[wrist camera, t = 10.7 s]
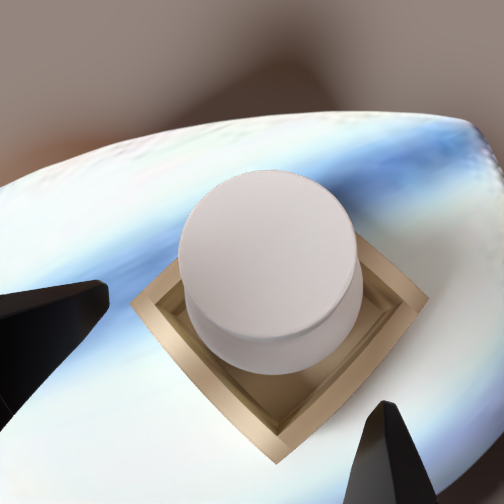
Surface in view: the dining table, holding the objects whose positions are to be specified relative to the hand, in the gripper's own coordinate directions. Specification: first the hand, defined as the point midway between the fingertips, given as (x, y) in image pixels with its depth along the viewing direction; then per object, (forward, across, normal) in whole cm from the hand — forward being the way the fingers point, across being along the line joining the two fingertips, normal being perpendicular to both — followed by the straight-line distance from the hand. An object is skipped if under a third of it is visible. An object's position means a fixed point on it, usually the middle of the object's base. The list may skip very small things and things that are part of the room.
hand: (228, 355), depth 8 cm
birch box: (+11, 0, +6) cm, 12 cm away
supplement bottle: (+10, 0, +6) cm, 12 cm away
